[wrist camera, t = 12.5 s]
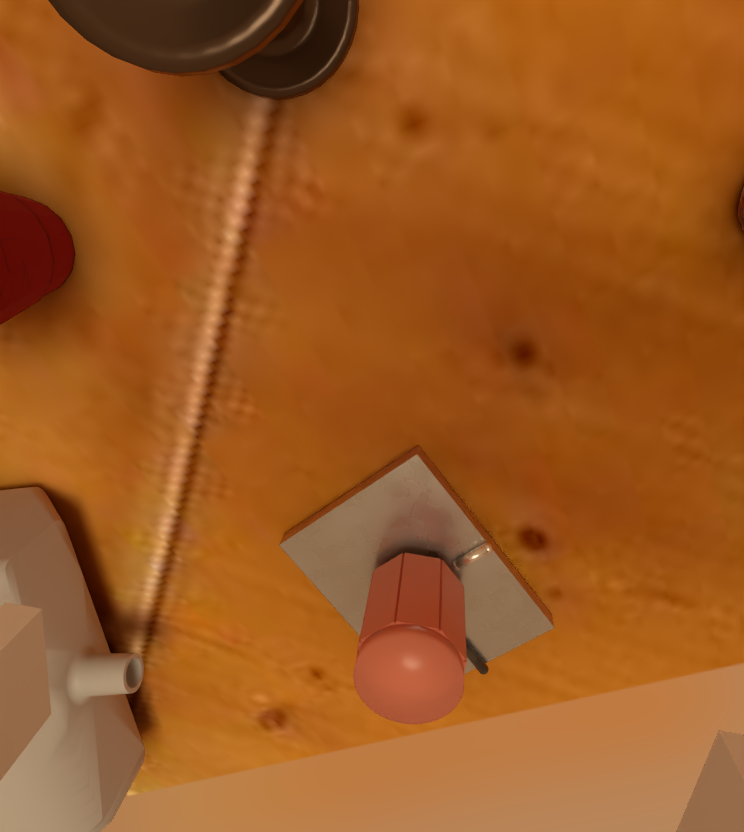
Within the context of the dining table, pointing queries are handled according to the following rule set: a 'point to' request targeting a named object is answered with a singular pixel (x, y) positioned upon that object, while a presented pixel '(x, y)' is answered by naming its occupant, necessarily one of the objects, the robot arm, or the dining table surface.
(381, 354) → the dining table surface
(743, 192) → the sauce bottle
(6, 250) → the plastic cup
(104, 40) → the candlestick
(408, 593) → the wire nut
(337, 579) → the plate
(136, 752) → the tank
